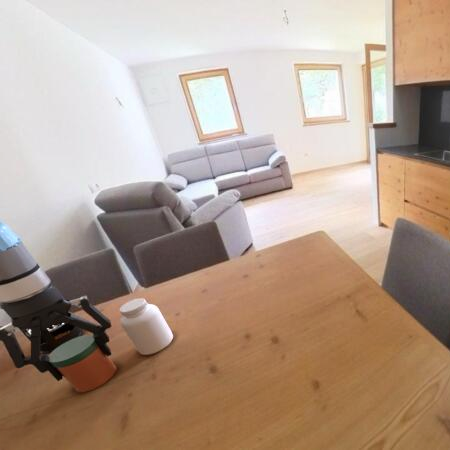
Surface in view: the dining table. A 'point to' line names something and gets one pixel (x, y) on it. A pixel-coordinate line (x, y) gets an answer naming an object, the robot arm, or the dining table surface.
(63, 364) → the jar lid
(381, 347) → the dining table surface
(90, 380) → the jar
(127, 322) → the pill bottle
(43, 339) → the french press
